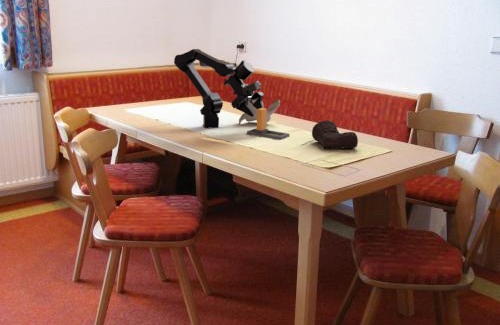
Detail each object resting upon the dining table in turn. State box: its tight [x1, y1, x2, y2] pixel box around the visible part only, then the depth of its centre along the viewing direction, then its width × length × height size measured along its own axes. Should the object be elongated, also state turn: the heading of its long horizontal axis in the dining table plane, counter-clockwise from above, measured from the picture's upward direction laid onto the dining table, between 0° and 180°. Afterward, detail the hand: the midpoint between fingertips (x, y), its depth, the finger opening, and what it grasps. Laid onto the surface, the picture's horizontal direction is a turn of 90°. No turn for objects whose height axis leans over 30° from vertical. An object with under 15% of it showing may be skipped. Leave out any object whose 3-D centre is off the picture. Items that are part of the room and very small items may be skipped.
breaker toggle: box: [254, 107, 269, 134], centre depth 211 cm, size 4×5×11 cm
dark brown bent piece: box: [311, 120, 359, 150], centre depth 197 cm, size 10×15×15 cm
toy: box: [238, 94, 281, 125], centre depth 232 cm, size 8×15×20 cm
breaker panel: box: [246, 127, 290, 141], centre depth 211 cm, size 18×12×2 cm, turn 57°
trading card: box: [301, 161, 361, 177], centre depth 170 cm, size 11×1×18 cm
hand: (258, 114), depth 211 cm, fingers open, 9 cm apart
